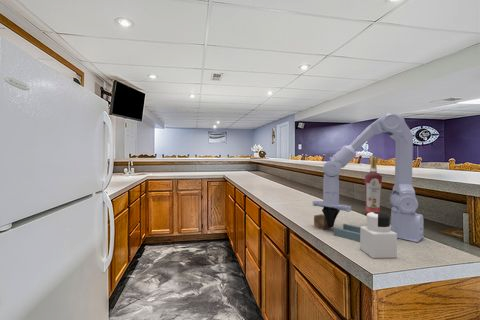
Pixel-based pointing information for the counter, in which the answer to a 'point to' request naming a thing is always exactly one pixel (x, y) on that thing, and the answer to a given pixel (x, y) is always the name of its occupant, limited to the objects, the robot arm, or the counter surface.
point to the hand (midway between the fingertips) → (330, 227)
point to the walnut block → (320, 222)
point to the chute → (348, 232)
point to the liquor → (373, 188)
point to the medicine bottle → (378, 236)
